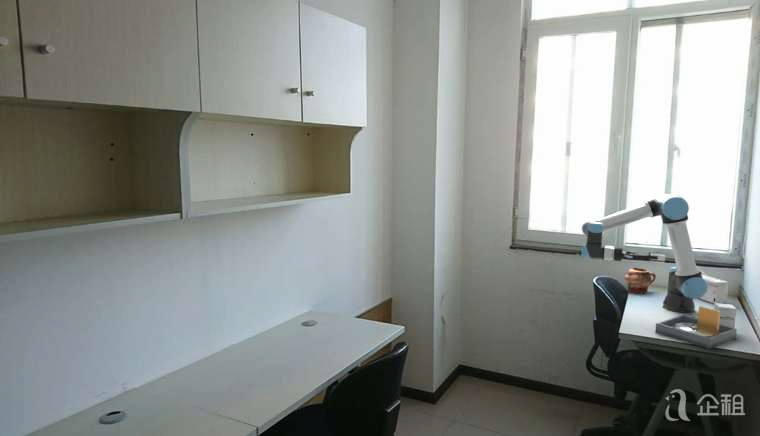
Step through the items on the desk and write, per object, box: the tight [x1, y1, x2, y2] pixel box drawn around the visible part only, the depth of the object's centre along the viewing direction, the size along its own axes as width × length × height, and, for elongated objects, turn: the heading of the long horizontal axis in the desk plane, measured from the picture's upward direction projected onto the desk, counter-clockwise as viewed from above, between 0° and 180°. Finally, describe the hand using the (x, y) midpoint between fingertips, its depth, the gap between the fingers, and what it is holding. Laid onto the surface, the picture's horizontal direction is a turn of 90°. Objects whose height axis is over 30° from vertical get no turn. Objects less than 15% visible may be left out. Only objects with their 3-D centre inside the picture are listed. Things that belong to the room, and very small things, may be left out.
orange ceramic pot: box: [624, 267, 657, 294], centre depth 313 cm, size 20×12×14 cm, turn 104°
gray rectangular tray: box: [654, 314, 738, 349], centre depth 238 cm, size 24×24×4 cm
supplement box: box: [714, 303, 737, 328], centre depth 244 cm, size 7×7×13 cm
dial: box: [674, 305, 721, 338], centre depth 237 cm, size 18×17×12 cm
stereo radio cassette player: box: [696, 265, 729, 305], centre depth 296 cm, size 21×8×20 cm, turn 13°
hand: (665, 258), depth 257 cm, fingers closed
